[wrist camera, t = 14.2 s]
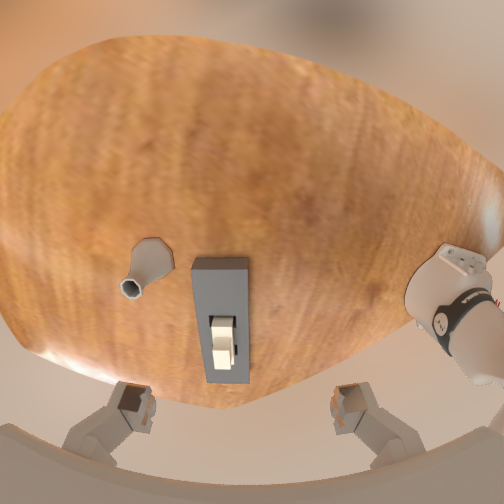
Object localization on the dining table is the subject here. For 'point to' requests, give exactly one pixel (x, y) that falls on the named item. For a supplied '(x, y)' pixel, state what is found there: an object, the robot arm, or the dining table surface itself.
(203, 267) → the rail
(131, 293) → the flask
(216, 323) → the clip
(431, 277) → the robot arm
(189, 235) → the dining table surface
